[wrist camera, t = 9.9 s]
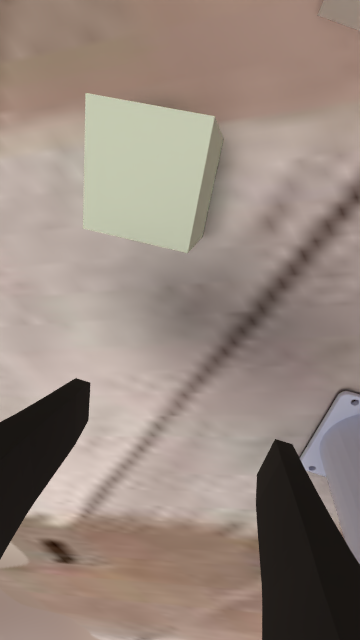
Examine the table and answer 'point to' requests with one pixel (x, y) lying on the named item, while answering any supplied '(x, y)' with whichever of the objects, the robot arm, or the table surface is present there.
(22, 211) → the table surface
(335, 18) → the base block
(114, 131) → the sage cube
